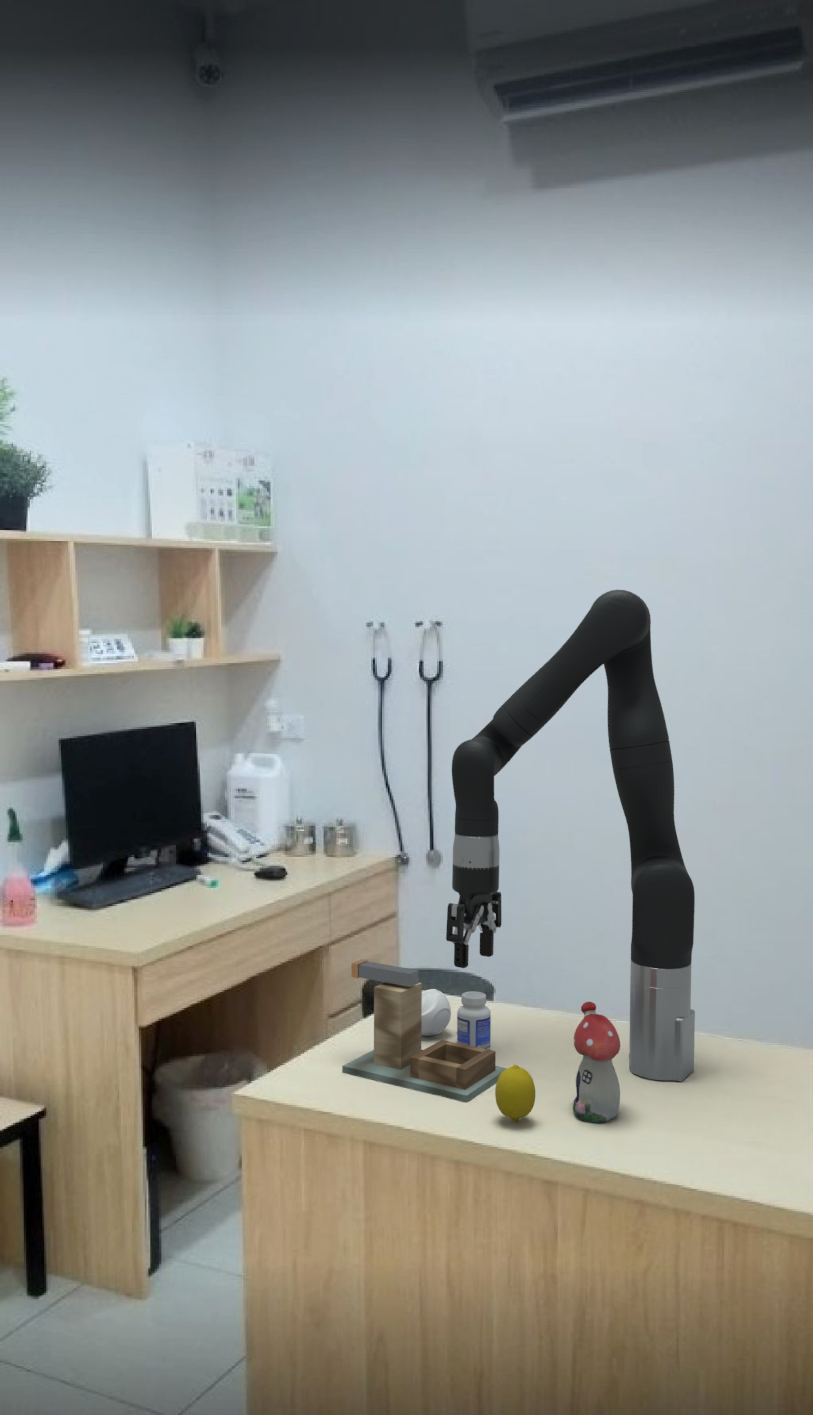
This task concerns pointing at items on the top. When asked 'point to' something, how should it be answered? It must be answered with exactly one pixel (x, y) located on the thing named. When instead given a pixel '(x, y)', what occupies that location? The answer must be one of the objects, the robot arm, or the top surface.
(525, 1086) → the lemon
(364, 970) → the bar
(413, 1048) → the socket board
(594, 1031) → the decorative ornament
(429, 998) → the white rounded piece
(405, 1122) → the top surface
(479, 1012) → the pill bottle
